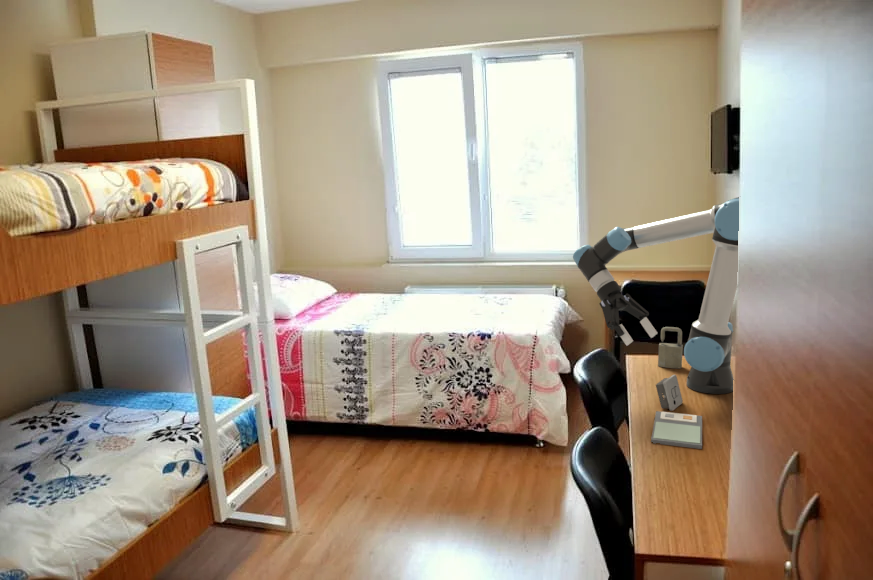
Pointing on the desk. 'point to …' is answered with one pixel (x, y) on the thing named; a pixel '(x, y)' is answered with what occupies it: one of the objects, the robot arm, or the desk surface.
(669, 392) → the electrical switch
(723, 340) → the robot arm
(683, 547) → the desk surface
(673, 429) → the switch plate
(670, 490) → the desk surface
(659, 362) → the padlock
